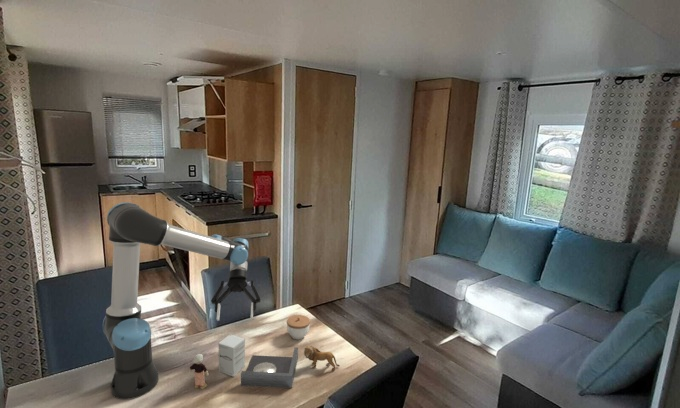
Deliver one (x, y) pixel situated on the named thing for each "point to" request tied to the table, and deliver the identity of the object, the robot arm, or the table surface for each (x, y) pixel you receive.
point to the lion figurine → (319, 356)
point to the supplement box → (231, 355)
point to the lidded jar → (298, 326)
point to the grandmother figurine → (199, 371)
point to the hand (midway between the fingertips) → (234, 319)
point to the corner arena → (270, 371)
